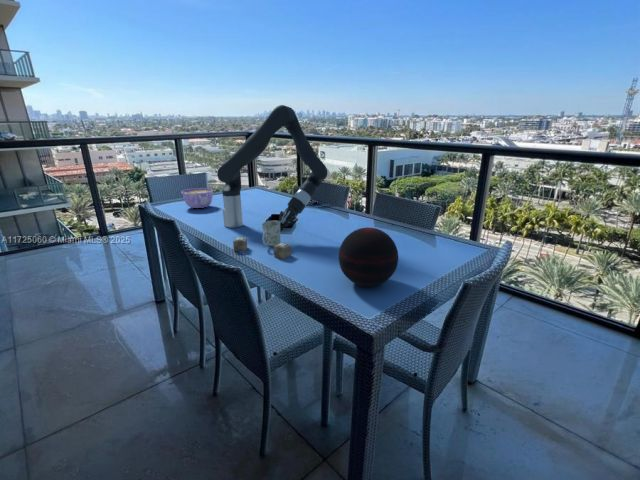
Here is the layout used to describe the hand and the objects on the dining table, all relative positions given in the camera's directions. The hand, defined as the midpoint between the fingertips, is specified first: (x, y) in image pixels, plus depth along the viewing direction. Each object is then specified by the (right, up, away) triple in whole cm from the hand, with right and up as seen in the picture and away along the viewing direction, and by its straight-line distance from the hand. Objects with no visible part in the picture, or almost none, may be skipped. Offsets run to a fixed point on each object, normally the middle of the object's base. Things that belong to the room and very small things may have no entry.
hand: (277, 231), depth 150 cm
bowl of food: (-62, +17, +69) cm, 94 cm away
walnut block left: (-16, -8, -4) cm, 19 cm away
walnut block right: (+4, -11, -12) cm, 17 cm away
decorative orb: (+36, -19, -36) cm, 54 cm away
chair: (+9, +22, +83) cm, 86 cm away
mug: (-3, -7, 0) cm, 7 cm away
